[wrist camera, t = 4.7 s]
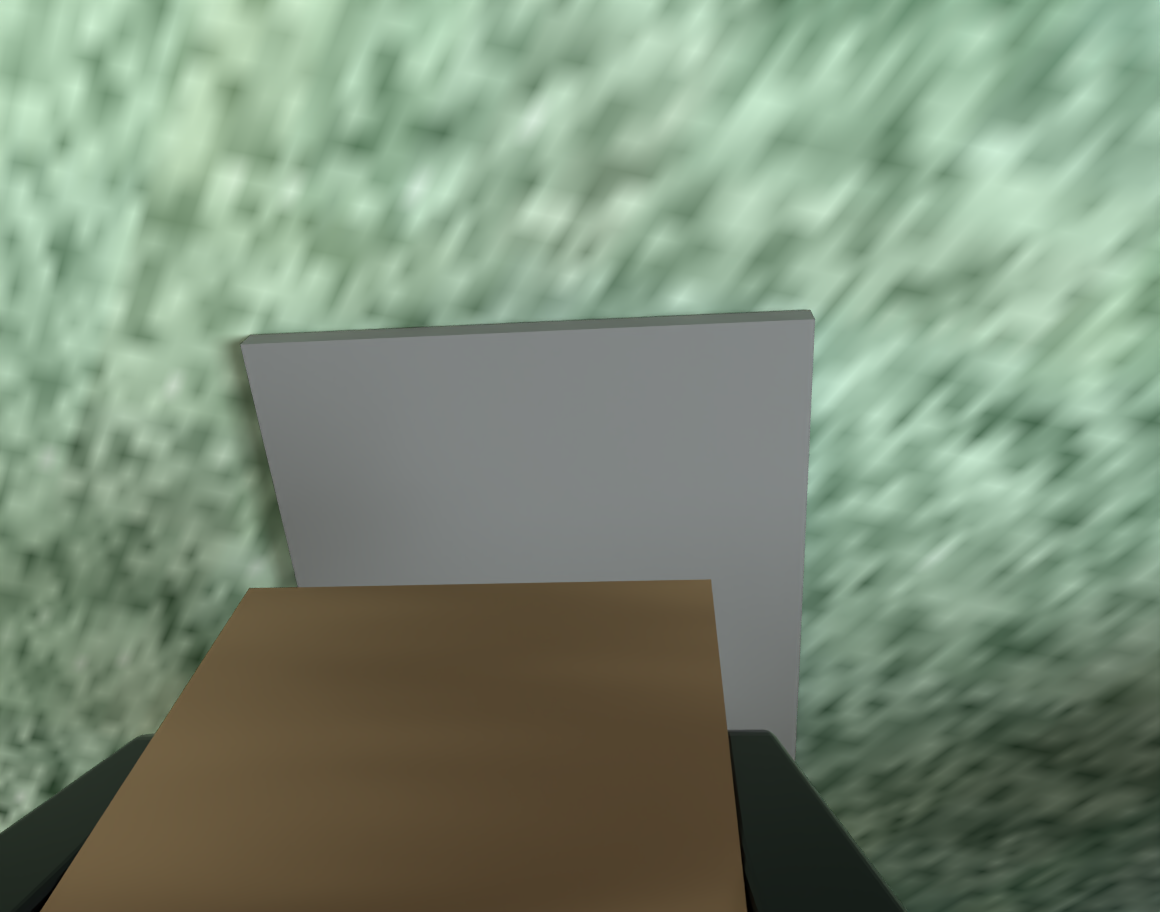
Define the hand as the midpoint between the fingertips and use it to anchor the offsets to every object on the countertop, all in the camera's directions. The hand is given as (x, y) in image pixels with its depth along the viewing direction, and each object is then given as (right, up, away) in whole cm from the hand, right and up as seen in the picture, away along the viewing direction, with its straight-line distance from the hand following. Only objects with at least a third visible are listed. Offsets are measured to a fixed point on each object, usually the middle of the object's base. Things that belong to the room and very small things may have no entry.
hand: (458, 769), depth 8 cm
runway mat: (+1, -6, +11) cm, 12 cm away
